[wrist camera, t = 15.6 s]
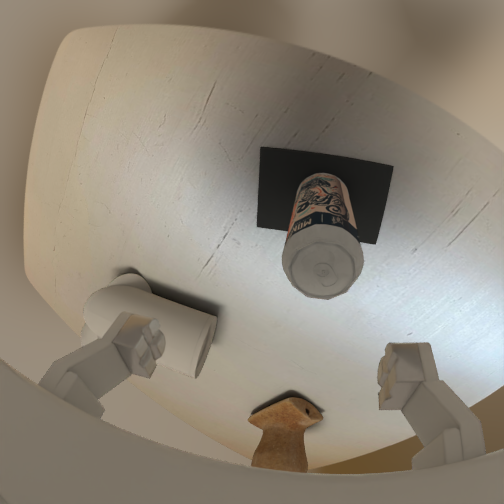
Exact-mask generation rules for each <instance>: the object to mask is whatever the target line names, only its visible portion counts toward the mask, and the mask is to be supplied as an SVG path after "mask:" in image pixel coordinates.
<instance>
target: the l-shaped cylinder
mask: <svg viewBox="0 0 504 504" xmlns="http://www.w3.org/2000/svg"><path fill="white" fill-rule="evenodd" d="M124 311H125V312H129V313H133V314H138V315H142V316H146V317H151V318H155V319H158V321H159V323H160V325H161V326H160V328H159V330H160V331H161V332H162V333H163V334H164V336H165V340H166V345H165V350H164V353H163V355H162V357H160V358H159V359H157V360H156V363H157V364H159V365H161V366H164V367H166V368H169V369H171V370H174V371H176V372H179V373H182V374H184V375H187V376H190V377H192V378H195V379H196V378H197V377H198V376H199V374H200V372H201V370H202V368H203V365H204V363H205V360H206V358H207V355H208V352H209V349H210V346H211V343H212V340H213V337H214V333H215V329H216V324H217V317H216V316H213V315H210V314H207V313H204V312H201V311H198V310H195V309H192V308H190V307H187V306H184V305H181V304H178V303H176V302H173V301H170V300H168V299H165V298H162V297H160V296H157V295H154V294H152V291H151V289H150V286H149V285H148V283H147V282H146V281H145V279H143V278H142V277H141V276H139V275H136V274H132V273H129V274H123V275H121V276H119V277H117V278H115V279H114V280H113V281H112V282H110V284H109V285H108V286H107V287H105V288H102V289H100V290H98V291H96V292H95V293H93V294H92V295H91V296H90V297H89V298H88V299H87V301H86V303H85V305H84V310H83V314H84V319H85V322H86V323H85V324H84V326H83V328H82V331H81V344H82V347H83V346H85V345H87V344H89V343H91V342H93V341H95V340H96V339H102V337H103V336H104V334H105V333H106V332H107V330H108V329H109V328H110V326H111V325H112V324H113V322H114V321H115V320H116V318H117V317H118V316H119V314H120V313H122V312H124Z"/></svg>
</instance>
